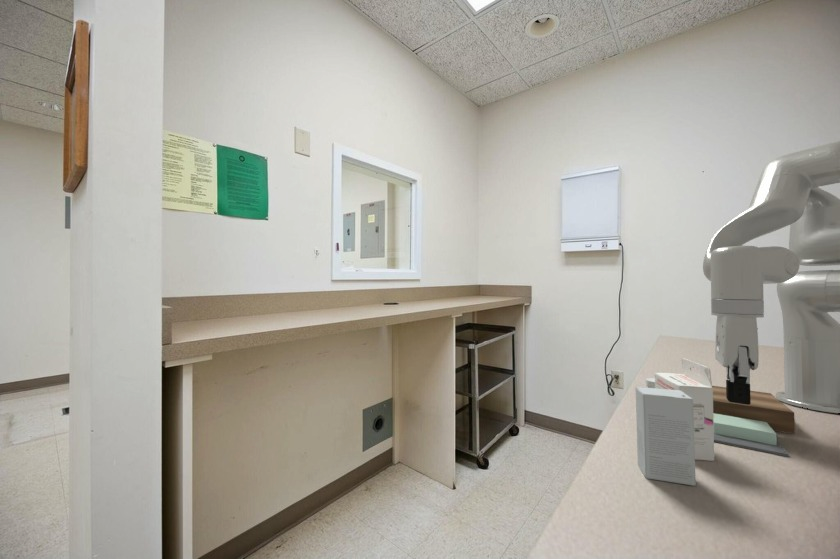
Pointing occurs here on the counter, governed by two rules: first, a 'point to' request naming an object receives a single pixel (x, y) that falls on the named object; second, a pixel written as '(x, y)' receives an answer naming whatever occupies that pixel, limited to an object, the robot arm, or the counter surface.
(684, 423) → the skincare box
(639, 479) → the counter surface
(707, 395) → the ink cartridge box
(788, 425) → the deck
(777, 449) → the mat
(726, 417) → the mint green block
